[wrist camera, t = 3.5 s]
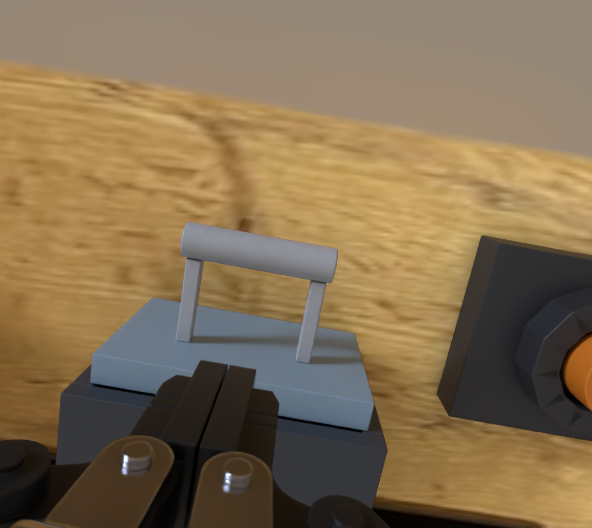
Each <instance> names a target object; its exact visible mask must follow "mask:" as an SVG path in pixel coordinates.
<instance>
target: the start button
mask: <svg viewBox="0 0 592 528" xmlns="http://www.w3.org/2000/svg"><path fill="white" fill-rule="evenodd" d="M563 379H564V382H565V385H566V387H567V388H568V390H569V391H570V392H571V393H572V394H573V395H574V396H575V397H576V398H577V399H578V400H579V401H580V402H582V403H583V404H584V405H585V406H586V407H587V408H588V409H589V410H591V411H592V333H591V334H589V335H587V336H585V337H584V338H582V339H580V340H579V341H578V342H577V343H576V344H575V345H574V346H573V347H572V348H571V349H570V351H569V352H568V354H567V356H566V358H565V361H564V364H563Z"/></svg>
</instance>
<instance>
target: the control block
mask: <svg viewBox="0 0 592 528" xmlns="http://www.w3.org/2000/svg"><path fill="white" fill-rule="evenodd" d="M591 333H592V256H591V255H586V254H580V253H575V252H569V251H564V250H559V249H553V248H548V247H543V246H537V245H532V244H526V243H521V242H516V241H510V240H505V239H500V238H494V237H489V236H481V240H480V243H479V247H478V250H477V254H476V257H475V261H474V264H473V268H472V272H471V275H470V279H469V282H468V286H467V289H466V293H465V296H464V300H463V304H462V307H461V311H460V314H459V318H458V321H457V325H456V328H455V332H454V336H453V339H452V343H451V346H450V350H449V353H448V357H447V360H446V364H445V368H444V371H443V375H442V378H441V382H440V385H439V389H438V392H437V395H438V397H439V399H440V401H441V403H442V404H443V406H444V408H445V410H446V411H447V413H448V415H449V416H451V417H456V418H462V419H468V420H474V421H479V422H485V423H491V424H496V425H502V426H508V427H513V428H519V429H525V430H531V431H536V432H542V433H548V434H553V435H559V436H565V437H570V438H576V439H582V440H588V441H592V411H591V410H589V409H588V408H587V407H586V406H585V405H584V404H583V403H582V402H580V401H579V400H578V399H577V398H576V397H575V396H574V395H573V394H572V393H571V392H570V391H569V390H568V388H567V387H566V385H565V382H564V379H563V364H564V361H565V358H566V356H567V354H568V352H569V351H570V349H571V348H572V347H573V346H574V345H575V344H576V343H577V342H578V341H579V340H580V339H582V338H584V337H585V336H587V335H589V334H591Z"/></svg>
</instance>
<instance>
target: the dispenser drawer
mask: <svg viewBox="0 0 592 528" xmlns="http://www.w3.org/2000/svg"><path fill="white" fill-rule="evenodd" d="M180 250H181V255H182V256H183V257H187V259H186V265H185V272H184V280H183V288H182V295H181V302H176V301H170V300H165V299H159V298H152V299H151V300H150V301H149V302H148V303H147V304H145V305H144V306H143V307H142V308H141V309H140V310H139V311H138V312H137V313H136V314H135V315H134V316H133V317H132V318H130V319H129V320H128V321H127V322H126V323H125V324H124V325H123V326H122V327H121V328H120V329H119V330H118V331H117V332H115V333H114V334H113V335H112V336H111V337H110V338H109V339H108V340H107V341H106V342H105V343H104V344H103V345H102V346H100V347H99V348H98V349H97V350H96V351H95V352H94V353H93V355H92V367H91V379H90V383H93V384H99V385H105V386H110V387H116V388H122V389H128V390H127V391H126V392H129V393H135V394H141V395H146V396H152V397H155V394H156V392H157V391H158V389H159V388H160V386H161V384H162V383H163V382H165V381H167V380H168V379H170V378H172V377H173V376H175V375H182V376H188V377H192V375H193V373H194V371H195V369H196V368H197V366H198V364H199V362H200V360H206V361H211V362H217V363H223V364H228V368H229V366H230V365H234V366H240V367H246V368H251V369H257V371H256V377H255V383H254V388H257V389H262V390H268V391H273V393H274V395H275V396H276V398H277V400H278V402H279V412H278V418H279V419H285V420H290V421H296V422H302V423H308V424H314V425H319V426H325V427H331V428H337V429H338V426H341V427H347V428H352V429H358V430H364V431H368V428H369V424H370V420H371V416H372V412H373V408H374V404H375V403H374V400H373V396H372V393H371V389H370V386H369V382H368V379H367V375H366V372H365V368H364V365H363V361H362V358H361V355H360V351H359V348H358V344H357V341H356V337H355V334H354V333H349V332H343V331H338V330H332V329H327V328H321V327H317V326H318V321H319V317H320V312H321V307H322V302H323V297H324V292H325V288H326V283H331V282H332V281H333V278H334V274H335V270H336V265H337V258H338V251H337V249H335V248H329V247H324V246H318V245H313V244H307V243H302V242H297V241H291V240H286V239H280V238H275V237H269V236H264V235H258V234H253V233H248V232H242V231H237V230H231V229H226V228H220V227H215V226H209V225H204V224H199V223H193V222H188V223H187V224H186V225H185V227H184V230H183V234H182V238H181V247H180ZM204 261H209V262H215V263H220V264H226V265H231V266H237V267H242V268H248V269H253V270H259V271H264V272H270V273H275V274H281V275H286V276H292V277H297V278H303V279H308V280H311V282H310V287H309V292H308V297H307V302H306V307H305V312H304V317H303V322H302V324H299V323H293V322H287V321H282V320H276V319H271V318H265V317H260V316H254V315H248V314H243V313H237V312H232V311H226V310H220V309H215V308H209V307H204V306H198V298H199V291H200V284H201V276H202V269H203V262H204Z"/></svg>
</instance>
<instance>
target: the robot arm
mask: <svg viewBox="0 0 592 528" xmlns="http://www.w3.org/2000/svg"><path fill="white" fill-rule="evenodd" d="M256 371H257V369H251V368H246V367H240V366H234V365H230V366H229V368H228V364H223V363H217V362H211V361H206V360H200V362H199V364H198V366H197V368H196V369H195V371H194V373H193V375H192V377H188V376H182V375H175V376H173V377H172V378H170V379H168V380H167V381H165V382H163V383H162V384H161V386H160V388H159V389H158V391H157V392H156V394H155V397H153V399H152V400H151V402H150V403H149V406H147V408H146V410H145V411H144V413H143V414H142V416H141V417H140V419H139V421H138V422H137V424H136V425H135V427H134V428H133V430H132V432H131V433H130V435H129V436H127V437H123V438H120V439H117V440H115V441H113V442H111V443H110V444H108V445H107V446H106V447H105V448H104V449H103V450H102V451H101V452H100V453H99V454H98V455H97V457H96V458H95V459H94V460H93V461H92V462H88V463H80V464H65V465H50V464H51V455H50V452H49V450H48V449H47V448H46V447H45V446H43V445H42V444H40V443H37V442H35V441H30V440H6V441H1V442H0V528H187V526H188V528H390V527H389V526H388V525H387V524H386V523H385V522H384V521H383V520H382V519H381V518H380V517H379V516H378V515H377V514H376V513H375V512H374V511H373V510H372V509H371V508H369V507H368V506H367V505H365V504H364V503H362V502H360V501H358V500H356V499H354V498H351V497H347V496H342V495H329V496H325V497H322V498H320V499H318V500H316V501H315V502H314V503H313V504H312V506H311V507H310V506H308V505H305V504H303V503H301V502H299V501H297V500H295V499H293V498H291V497H290V496H288V495H287V494H286V493H285V492H283V491H282V490H281V489H280V487H279V486H278V485H277V483H276V482H275V480H274V477H273V473H272V466H273V457H274V448H275V439H276V430H277V421H278V412H279V402H278V400H277V398H276V396H275V395H274V393H273V391H268V390H262V389H257V388H254V383H255V377H256Z"/></svg>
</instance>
